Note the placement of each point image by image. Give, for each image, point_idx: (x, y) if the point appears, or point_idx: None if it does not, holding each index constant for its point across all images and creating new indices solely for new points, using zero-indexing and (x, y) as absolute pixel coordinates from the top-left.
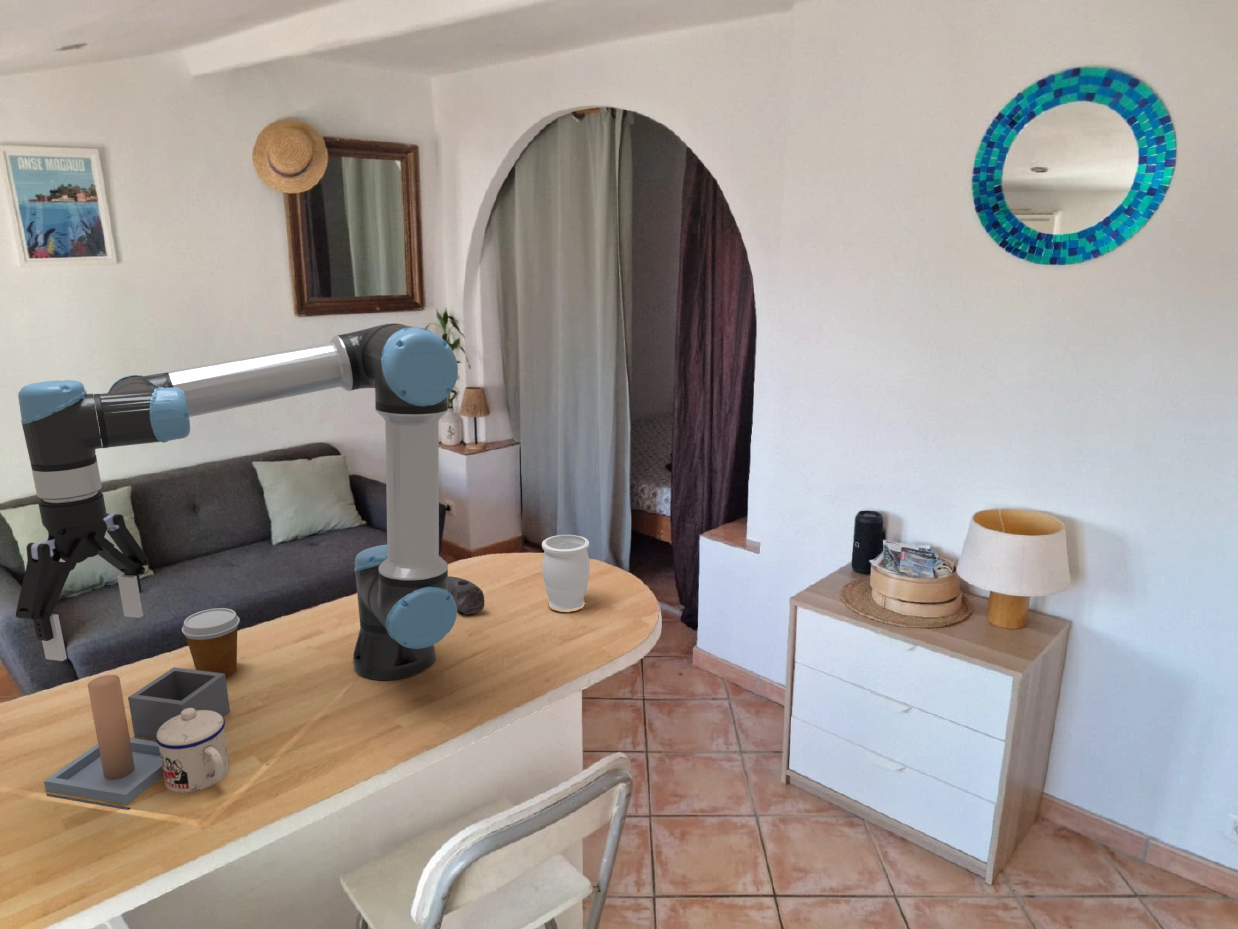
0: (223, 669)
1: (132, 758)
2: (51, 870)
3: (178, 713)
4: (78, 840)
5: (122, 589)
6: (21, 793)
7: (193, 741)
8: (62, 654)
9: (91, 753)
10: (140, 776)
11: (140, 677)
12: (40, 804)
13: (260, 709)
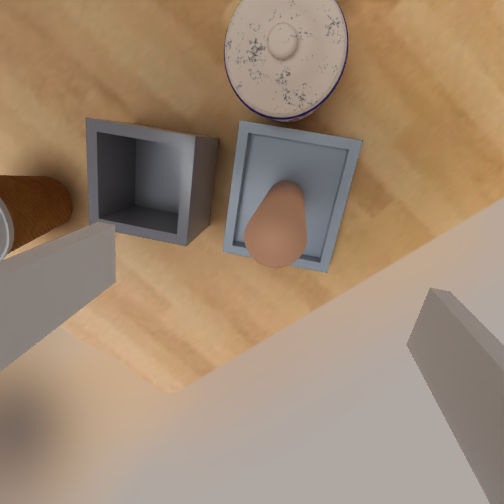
0: (42, 183)
1: (278, 183)
2: (478, 165)
3: (200, 147)
4: (418, 169)
5: (35, 328)
6: (319, 295)
7: (337, 5)
8: (455, 301)
9: None
10: (296, 161)
11: None
12: (340, 262)
13: (106, 83)
